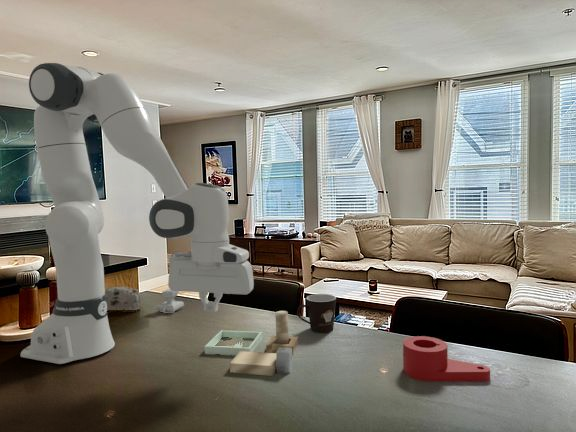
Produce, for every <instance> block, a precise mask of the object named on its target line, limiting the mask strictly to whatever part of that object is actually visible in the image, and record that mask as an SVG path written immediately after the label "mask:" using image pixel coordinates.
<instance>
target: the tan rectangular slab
mask: <svg viewBox="0 0 576 432" xmlns="http://www.w3.org/2000/svg"><path fill="white" fill-rule="evenodd" d="M229 370H230V373H232V372H233V373H234V374H235V373H236V374H244V373H245V375H247V374H248V375H259V376H271V377H273V376H274V374H275V372H277V357H276V353H266V352H260V351H258V352H257V351H253V352H245V351H240V352H239V353H238V354H237V355H236V356H234V358H233V359H232V360H231V361H230V362H229Z"/></svg>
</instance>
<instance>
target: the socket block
mask: <svg viewBox="0 0 576 432" xmlns="http://www.w3.org/2000/svg"><path fill="white" fill-rule="evenodd" d="M298 345H299V336H290V335H289V344H276V335H272V336H271V337H270V339H269V341H268V342H267V344H266V345H265V346H266V348H265V349H266V350H265V351H266V352H265V353H276V352H277V350H278V348H279V347H287V348H292V355H294V354H295V352H296V350H297V348H298Z"/></svg>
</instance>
